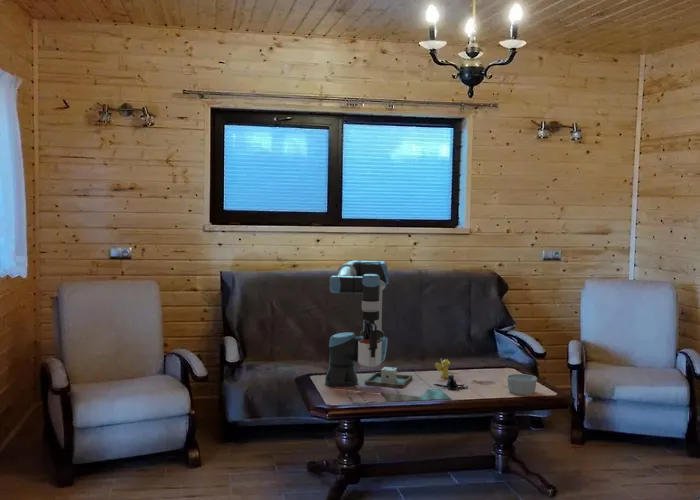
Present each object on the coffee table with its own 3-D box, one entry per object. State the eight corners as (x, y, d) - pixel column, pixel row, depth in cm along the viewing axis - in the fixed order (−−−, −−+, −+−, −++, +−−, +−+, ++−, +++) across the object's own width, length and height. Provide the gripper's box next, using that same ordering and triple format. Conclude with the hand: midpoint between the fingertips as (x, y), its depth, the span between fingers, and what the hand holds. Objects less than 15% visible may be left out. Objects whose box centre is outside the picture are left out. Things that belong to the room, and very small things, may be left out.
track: (353, 403, 298) (353, 402, 298) (346, 393, 314) (346, 392, 314) (451, 399, 307) (451, 398, 307) (439, 389, 323) (439, 388, 323)
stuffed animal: (470, 388, 322) (449, 374, 320) (457, 406, 322) (436, 391, 321) (464, 381, 333) (443, 367, 332) (452, 398, 334) (431, 384, 332)
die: (380, 382, 332) (381, 369, 331) (384, 379, 338) (384, 366, 337) (393, 383, 330) (393, 370, 329) (396, 380, 336) (397, 367, 335)
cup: (356, 366, 303) (356, 343, 302) (360, 361, 313) (360, 338, 312) (379, 368, 301) (379, 344, 300) (382, 362, 311) (383, 340, 310)
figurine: (459, 381, 337) (460, 363, 336) (434, 379, 341) (435, 361, 341) (464, 376, 348) (465, 358, 348) (440, 373, 352) (440, 356, 352)
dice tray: (364, 385, 328) (364, 381, 328) (375, 376, 345) (376, 372, 345) (402, 389, 322) (402, 384, 322) (412, 379, 339) (412, 375, 339)
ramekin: (500, 390, 324) (500, 374, 323) (524, 387, 329) (524, 372, 329) (518, 397, 312) (518, 381, 311) (542, 394, 317) (543, 379, 316)
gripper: (385, 314, 295) (384, 367, 296) (373, 306, 317) (372, 355, 319) (367, 314, 293) (366, 368, 295) (356, 306, 316) (356, 356, 317)
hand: (369, 361), depth 307 cm, fingers closed on cup, 10 cm apart
